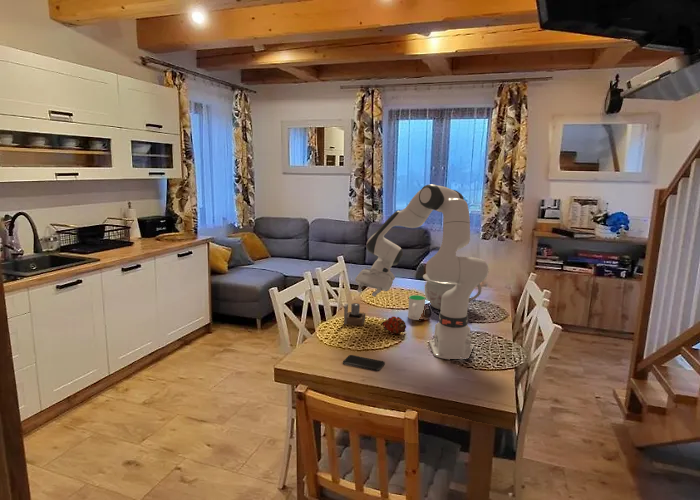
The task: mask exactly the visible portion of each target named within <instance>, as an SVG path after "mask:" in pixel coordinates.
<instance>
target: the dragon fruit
mask: <svg viewBox="0 0 700 500" xmlns="http://www.w3.org/2000/svg"><path fill="white" fill-rule="evenodd" d="M381 325H382V326H383V330H384V331H386V332H389V331H390V332H389V334H390V335H394V334H396V335H400V334H401V333H405V332H406V329H407V324H406V322H405V321H404V320H403V319H402V318H401V317H400V316H395V315H393V316H391V317H389V318H388V319H386V320H385V321H382V323H381Z"/></svg>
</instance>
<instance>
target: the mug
mask: <svg viewBox="0 0 700 500" xmlns="http://www.w3.org/2000/svg"><path fill="white" fill-rule="evenodd" d="M424 306H425V307H426V296H423V295H418V294H415V295H414V294H412V295H410V296H408V309H407V310H408V311H407V312H408V313H407V317H408V319H410V320H412V321H420V320H419V318H420V317H421V314H422V313H423V310H424ZM424 311H425V310H424Z"/></svg>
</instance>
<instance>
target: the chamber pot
mask: <svg viewBox="0 0 700 500" xmlns="http://www.w3.org/2000/svg"><path fill="white" fill-rule="evenodd" d="M422 278H423V279H424V280H425V281H426V282H425V284H424V295H425V296H424V297H425V299H426V300H427V302H428V301H430V303H431V305H430V306H431V307H432V308H434V309H437V310H439V311H441V298H442V295H443V294H444V293H445V292H446V291H448V290H450V289H452V288H453V287H454V286H455V285H456V283H445V282H437V281H432V280H430V279H429V278H428V276H427V274H426V273H425V274H423V275H422ZM476 287H477V288H478V290H477V294H475V295H474V296H472V297H470V298H469V302H468V304H470V302H472V301H474V300H476V299H477V298H478V297H479V296H480V295H481V294H482V291H483V290H482V286H481V283H480V284H478V285H477V286H476ZM430 303H429V304H430Z"/></svg>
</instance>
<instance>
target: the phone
mask: <svg viewBox="0 0 700 500" xmlns="http://www.w3.org/2000/svg"><path fill="white" fill-rule="evenodd" d="M342 364H343V365H346V366H349V367H353V368H354V367H356V368H360V369H364V370H369V371H372V372H373V371H374V372H379V371H381V370H382V368H383V367H384V366H385V360H379V359H374V358H369V357H364V356H358V355H354V354H349V355H348V356H347V357H345V359H343V360H342Z"/></svg>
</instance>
